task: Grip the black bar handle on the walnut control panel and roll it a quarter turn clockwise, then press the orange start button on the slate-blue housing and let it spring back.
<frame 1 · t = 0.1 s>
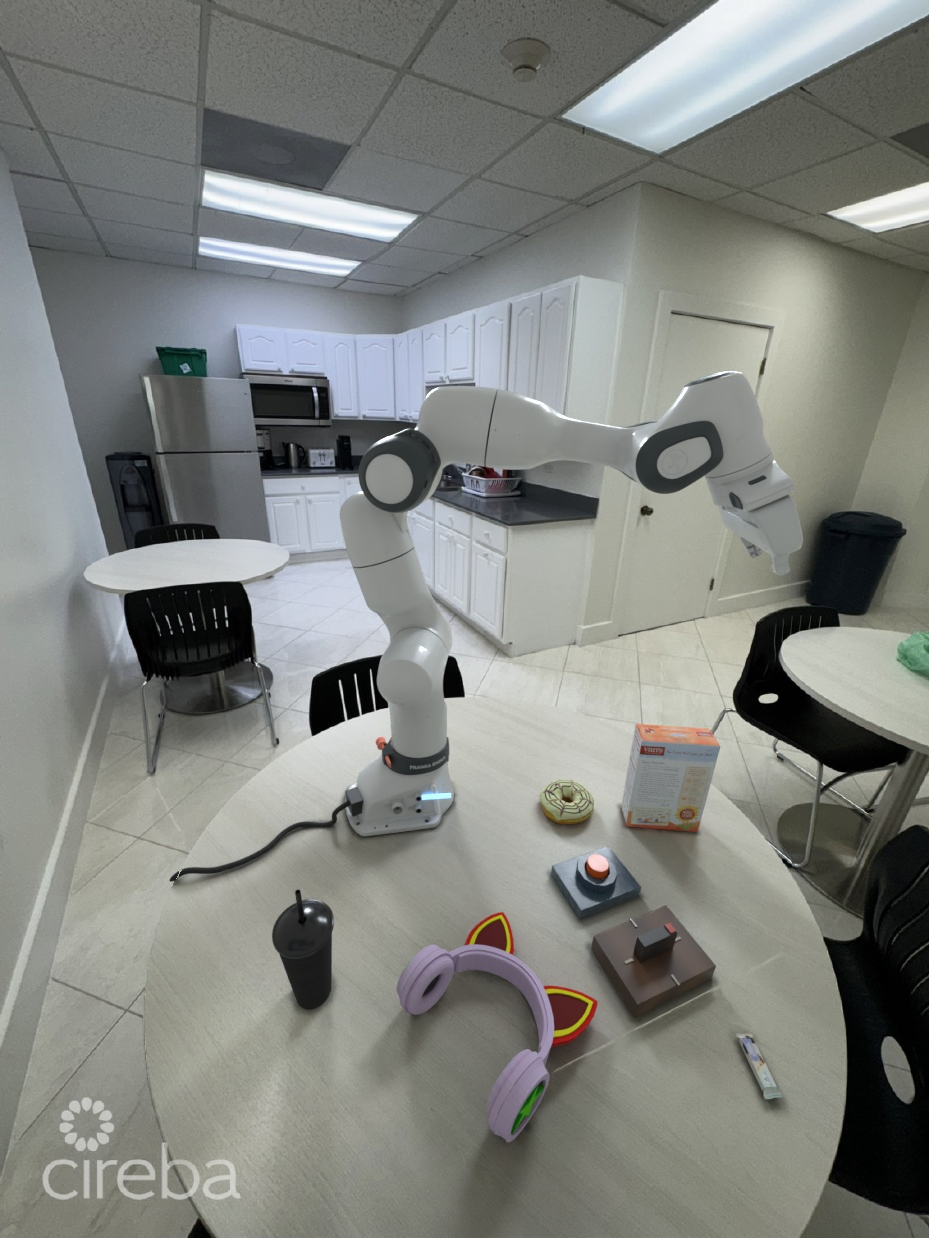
hand: (767, 563, 77), 54 cm above the table, tool tilted 30°, fingers open, 8 cm apart
headphones: (498, 1015, 67), on the table
drinking cup: (314, 991, 69), on the table
decorated donut: (565, 809, 101), on the table
cracker box: (657, 819, 99), on the table
button: (597, 866, 83), point 5 cm above the table, slide at 0.2 cm
granola bar: (756, 1067, 62), on the table
handle: (655, 941, 71), point 5 cm above the table, hinge at 0.0°
panel: (649, 963, 73), on the table
button box: (594, 884, 85), on the table
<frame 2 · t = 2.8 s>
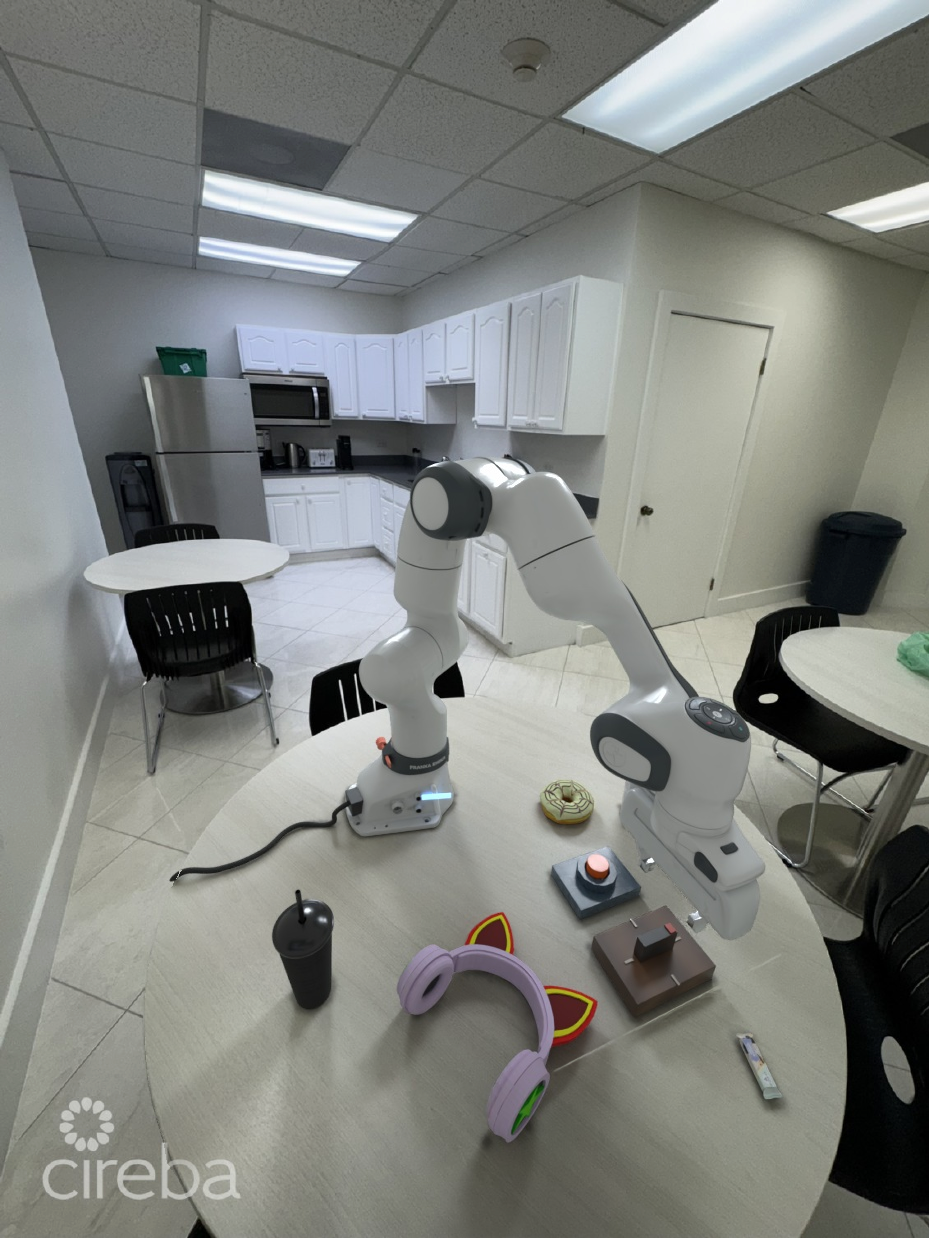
hand: (669, 895, 67), 15 cm above the table, tool pointing down, fingers open, 8 cm apart
nothing on the table moved.
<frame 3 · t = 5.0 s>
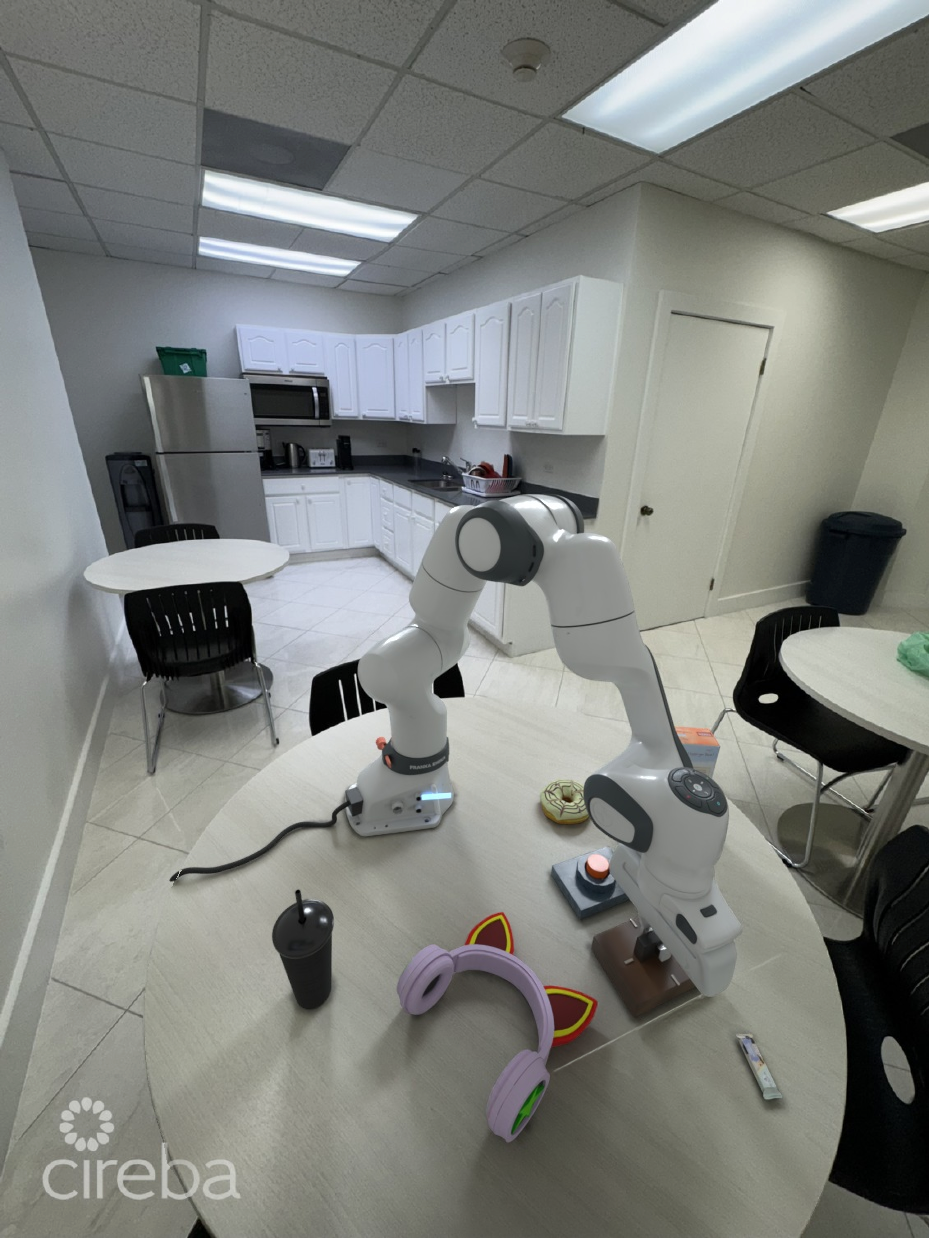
hand: (654, 945, 72), 4 cm above the table, tool pointing down, fingers closed on handle, 2 cm apart
handle: (655, 941, 71), point 5 cm above the table, hinge at 0.0°, touching gripper
everything else where it was.
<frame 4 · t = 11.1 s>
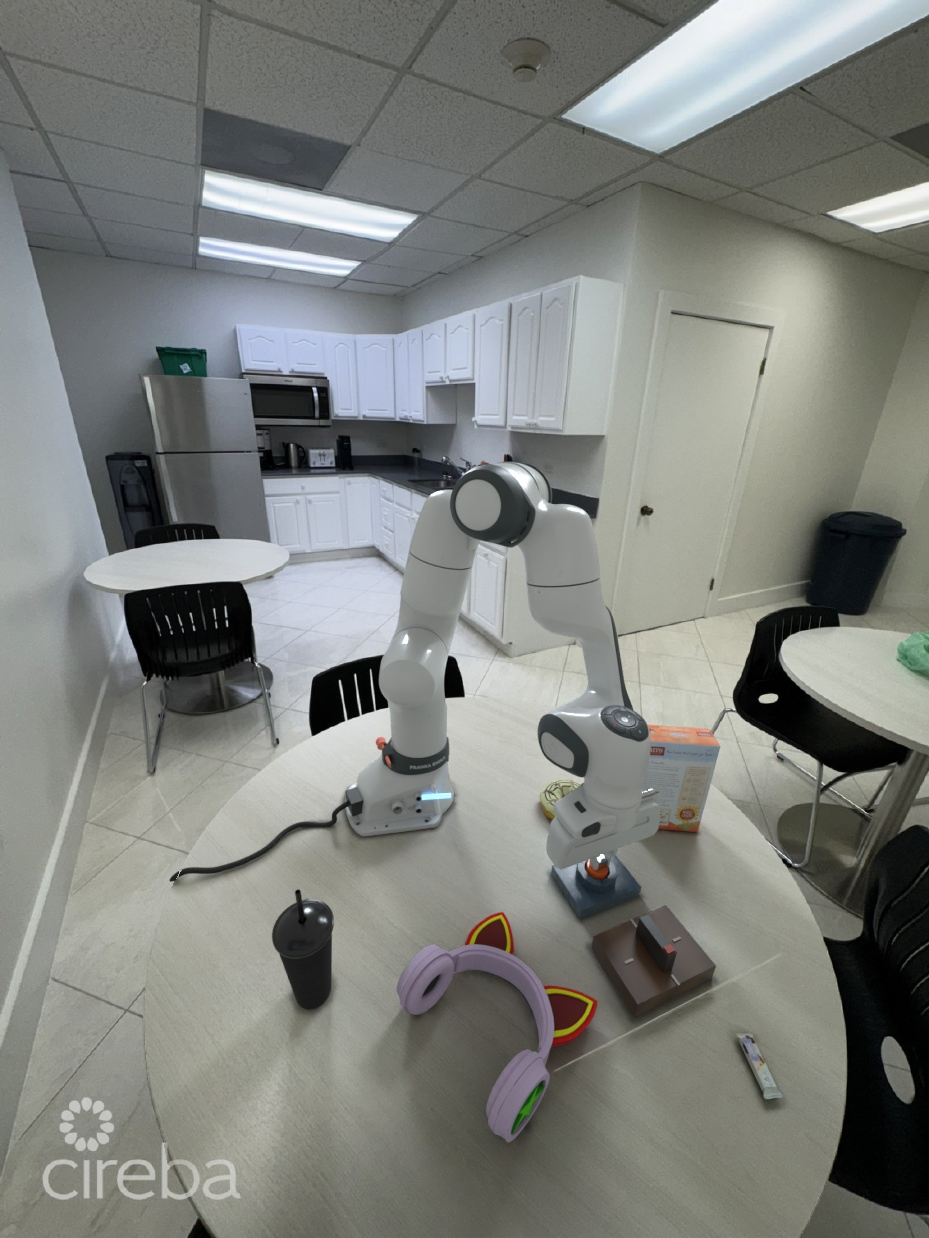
hand: (599, 864, 83), 5 cm above the table, tool pointing down, fingers closed, pressing on button
button: (596, 869, 84), point 4 cm above the table, slide at -0.6 cm, touching gripper
handle: (655, 941, 71), point 5 cm above the table, hinge at -90.0°
everything else where it was.
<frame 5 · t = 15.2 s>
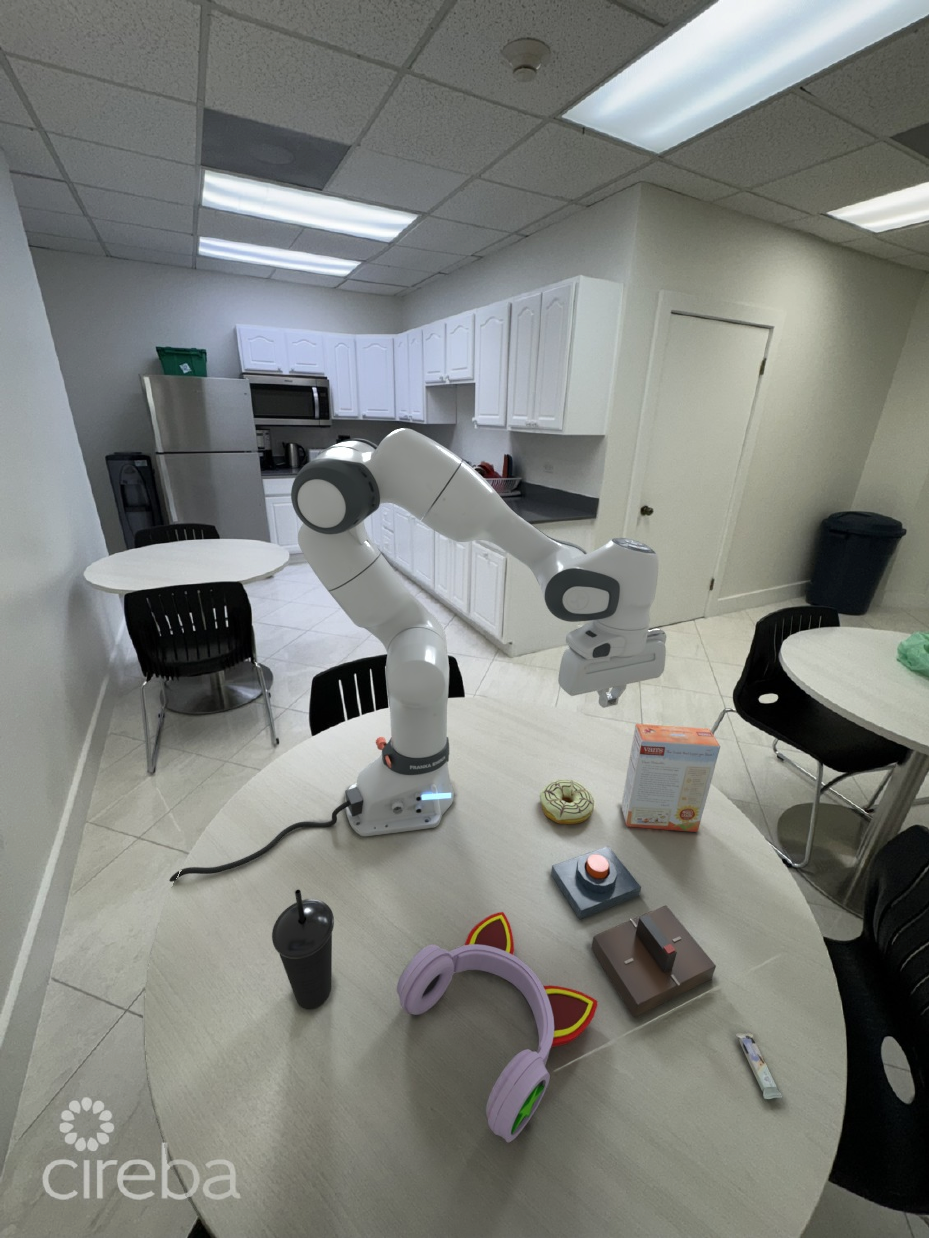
hand: (607, 704, 88), 27 cm above the table, tool pointing down, fingers closed
button: (597, 866, 83), point 5 cm above the table, slide at 0.1 cm
everything else where it was.
at the end: handle at -90° (first picture: +0°); button pushed in 1.0 cm at the most during the clip, back to where it started at the end; button slide at 0.1 cm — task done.
